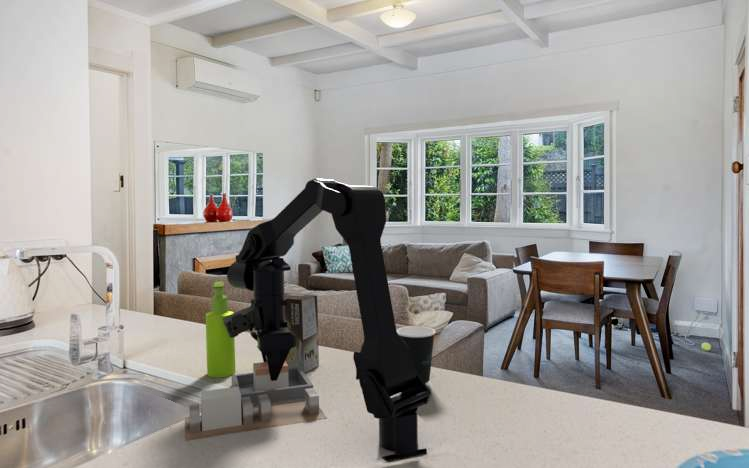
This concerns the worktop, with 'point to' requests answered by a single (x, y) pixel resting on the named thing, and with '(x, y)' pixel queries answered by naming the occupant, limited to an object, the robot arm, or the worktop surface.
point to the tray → (295, 389)
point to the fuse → (220, 408)
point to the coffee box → (302, 330)
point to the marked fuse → (263, 377)
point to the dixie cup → (419, 347)
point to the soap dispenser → (219, 337)
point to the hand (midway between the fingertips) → (271, 374)
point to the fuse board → (259, 415)
